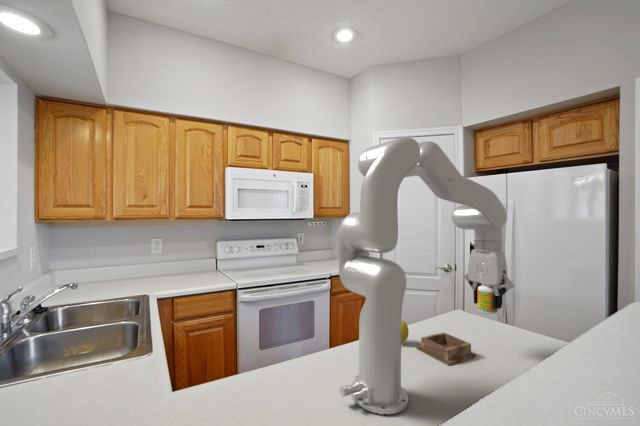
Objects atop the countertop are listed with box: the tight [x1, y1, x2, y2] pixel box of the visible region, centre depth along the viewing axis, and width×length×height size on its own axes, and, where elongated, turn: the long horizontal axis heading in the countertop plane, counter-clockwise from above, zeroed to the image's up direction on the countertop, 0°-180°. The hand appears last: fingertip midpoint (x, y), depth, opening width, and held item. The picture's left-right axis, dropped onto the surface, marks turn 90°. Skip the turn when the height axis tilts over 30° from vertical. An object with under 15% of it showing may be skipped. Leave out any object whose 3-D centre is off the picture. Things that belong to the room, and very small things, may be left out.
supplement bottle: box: [476, 283, 498, 315], centre depth 90 cm, size 5×5×10 cm
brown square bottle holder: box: [416, 331, 477, 367], centre depth 91 cm, size 12×12×4 cm
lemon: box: [401, 319, 409, 344], centre depth 97 cm, size 6×6×8 cm
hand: (487, 305), depth 90 cm, fingers closed on supplement bottle, 5 cm apart
